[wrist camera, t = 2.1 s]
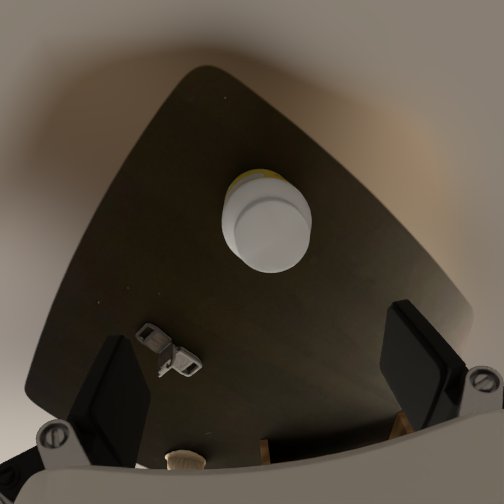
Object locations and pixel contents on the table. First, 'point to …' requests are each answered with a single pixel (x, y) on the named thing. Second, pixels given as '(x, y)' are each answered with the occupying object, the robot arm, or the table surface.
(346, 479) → the robot arm
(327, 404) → the table surface
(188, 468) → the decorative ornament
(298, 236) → the pill bottle
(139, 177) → the table surface
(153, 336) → the strap clip
